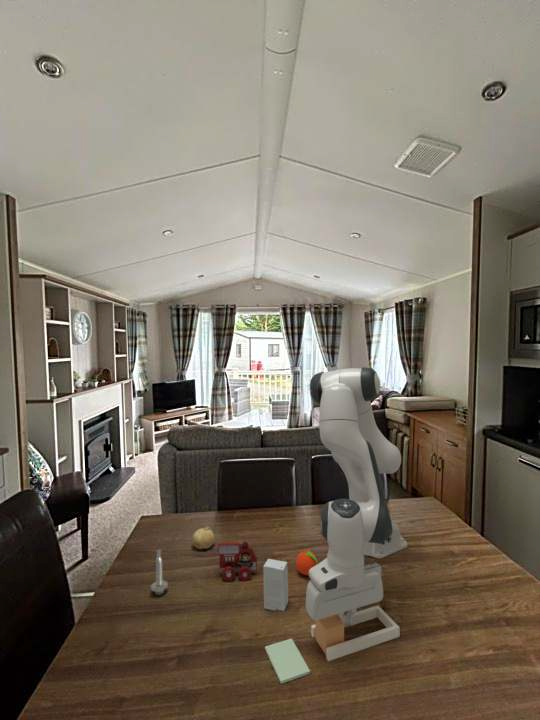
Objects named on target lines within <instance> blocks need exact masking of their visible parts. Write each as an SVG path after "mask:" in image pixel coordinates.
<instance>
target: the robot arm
mask: <svg viewBox="0 0 540 720" xmlns="http://www.w3.org/2000/svg"><path fill="white" fill-rule="evenodd" d="M380 390H381V380H380V377H379V375H378V374H377V371H376V370H375V369H373V368H372V367H365V366H364V367H361V368H360V367H358V368H357V367H350V368H341V369H335V370H329V371H326V372H324V371H321V372H317V373H315V374H313V376H312V377H311V379H310V381H309V393H310V396H311V398H312V399H311V400H313V401H314V402H315V403H316V404H318V405H319V413H318V415H319V416H318V417H319V419H318V422H319V423H318V425H319V427H318V428H319V437H320V441H321V443H322V444H323V446H324V447H325V448H326V449H327V450H328V451H330V452H331V456H332V459H333V460H334V461H335V462H336V463H337V464H338V465H339V467H340V468H341V470H342V471H343V474H344V475H345V478H346V481H347V486H348V496H349V497H348V498H337V499H335V500H332V501H327V502H326V503H325V504H324V505H323V506H322V508H321V509H320V513H319V514H320V520H321V523H320V534H321V536H322V537H323V538H324V539H325V541H326V542H327V544H328V551H327V554H326V556H327V557H326V558H324V559H323V560H321V562H319V563H318V564H317V565H316V566H314V567H312V568H311V569H310V570H309V575H308V576H309V579H310V580H309V582H308V583H307V587H306V592H305V595H306V596H305V610H306V612H307V613H308V615H309V616H310V617H309V618H311V619H312V620H313V621H315V620H319V619H322V618H326V617H329V616H332V615H336V614H337V616H338V617H339V618H340V619H341V620H342V622H343V623H344V629H345V628H347V627H351V625H352V619H353V618H354V616H355V614H356V612H358V610H357V609H359V608H362V607H365V606H368V605H372V604H376V603H378V602H379V603H380V602H381V601H382V600H383V598H384V586H383V579H382V567H381V565H380V564H379V563H377V562H376V561H372V562H370V563H365V556H370V557H373V558H376V559H383V558H385V557H387V556H388V557H389V556H390V555H392V554H395V553H397V552H399V551H402V550H403V549H404V550H405V549H407V548H408V542H407V540H406V538H404V537H402V536H401V532H400V529H399V527H398V526H397V525H396V523H394V522H393V520H392V515H391V512H392V511H391V510H390V509H389V507H388V503H387V500H386V496H385V491H384V487H383V482H382V478H381V475H380V474H394V473H396V472H397V471H398V470H399V468H400V466H401V465H402V455H401V451H400V450H399V448H398V447H397V446H396V445H394V444H393V443H392V442H391V441H389V440H388V439H387V438H386V437H385V436H384V434H383V433H382V431H381V430H380V429H379V428H378V426H377V423H376V420H375V416H374V413H373V407H372V402H371V401H373V400H376V399H377V397H378V396H379V394H380ZM345 612H346V614H345ZM352 626H353V625H352Z"/></svg>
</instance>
